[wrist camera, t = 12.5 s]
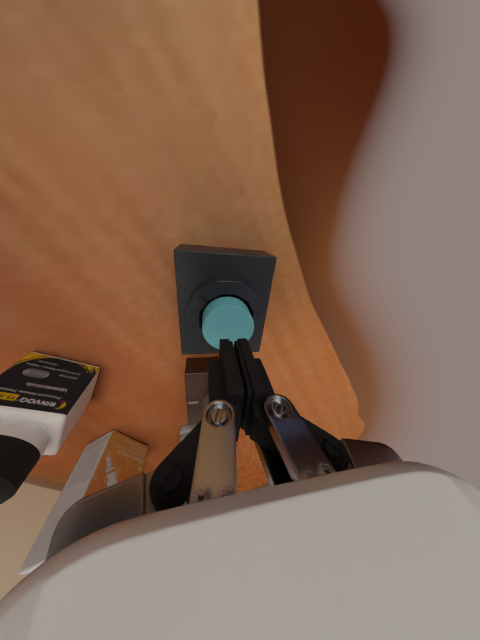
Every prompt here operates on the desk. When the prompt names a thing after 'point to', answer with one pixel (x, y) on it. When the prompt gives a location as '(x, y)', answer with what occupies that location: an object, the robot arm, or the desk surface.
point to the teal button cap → (226, 321)
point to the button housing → (220, 288)
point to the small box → (90, 483)
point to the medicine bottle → (38, 412)
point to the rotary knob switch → (196, 387)
